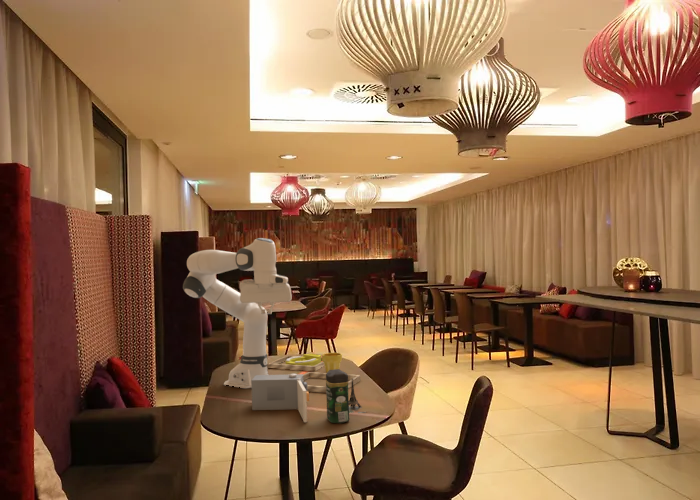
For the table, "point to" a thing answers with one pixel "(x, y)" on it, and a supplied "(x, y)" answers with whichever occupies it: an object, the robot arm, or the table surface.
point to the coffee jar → (337, 396)
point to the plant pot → (332, 361)
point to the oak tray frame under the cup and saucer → (323, 375)
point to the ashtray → (304, 360)
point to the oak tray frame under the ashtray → (293, 367)
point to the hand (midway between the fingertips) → (266, 313)
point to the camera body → (275, 391)
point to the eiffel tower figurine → (353, 401)
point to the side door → (302, 399)
